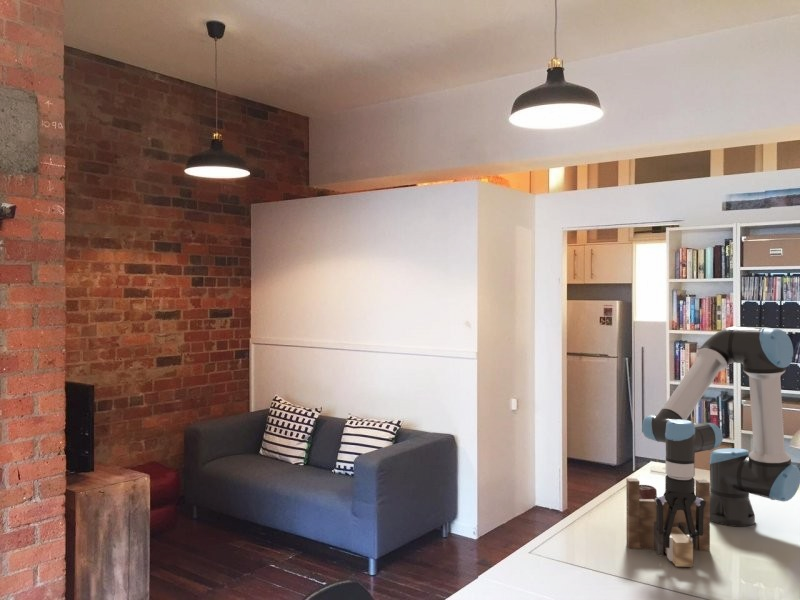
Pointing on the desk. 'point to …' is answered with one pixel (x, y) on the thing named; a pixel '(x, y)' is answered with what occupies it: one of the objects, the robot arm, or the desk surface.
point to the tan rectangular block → (681, 548)
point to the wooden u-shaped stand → (645, 521)
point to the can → (647, 492)
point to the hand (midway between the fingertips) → (679, 559)
